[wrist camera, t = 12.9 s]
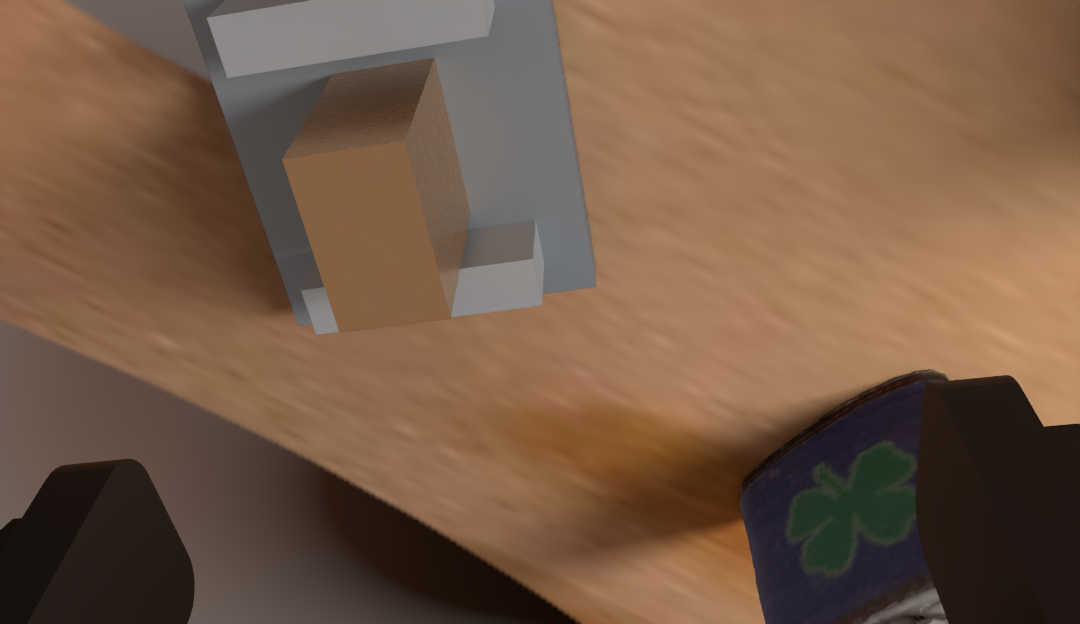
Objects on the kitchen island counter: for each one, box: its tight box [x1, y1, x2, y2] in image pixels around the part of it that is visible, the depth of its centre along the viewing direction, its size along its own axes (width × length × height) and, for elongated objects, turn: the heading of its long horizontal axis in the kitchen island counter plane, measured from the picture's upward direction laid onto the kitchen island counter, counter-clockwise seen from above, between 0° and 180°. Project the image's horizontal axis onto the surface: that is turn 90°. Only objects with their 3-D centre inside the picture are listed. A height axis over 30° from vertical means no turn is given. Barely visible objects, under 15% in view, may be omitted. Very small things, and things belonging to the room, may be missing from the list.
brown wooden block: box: [282, 58, 471, 333], centre depth 28 cm, size 5×3×6 cm, turn 10°
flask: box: [739, 370, 950, 624], centre depth 33 cm, size 9×3×11 cm, turn 133°
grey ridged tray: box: [183, 0, 596, 335], centre depth 30 cm, size 12×10×4 cm
